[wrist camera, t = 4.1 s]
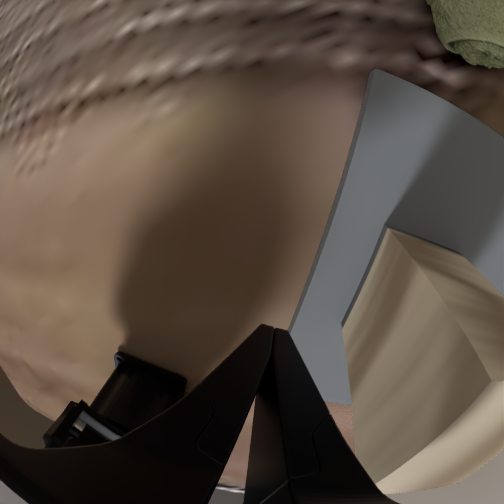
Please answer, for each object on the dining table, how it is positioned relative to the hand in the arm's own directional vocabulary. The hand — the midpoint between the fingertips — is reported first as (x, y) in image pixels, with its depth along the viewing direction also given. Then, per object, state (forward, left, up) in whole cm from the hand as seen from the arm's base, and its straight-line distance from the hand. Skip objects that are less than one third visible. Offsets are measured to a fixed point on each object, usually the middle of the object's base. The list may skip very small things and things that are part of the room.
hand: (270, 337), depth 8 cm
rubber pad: (+13, 0, -8) cm, 15 cm away
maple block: (+7, 0, -6) cm, 9 cm away
